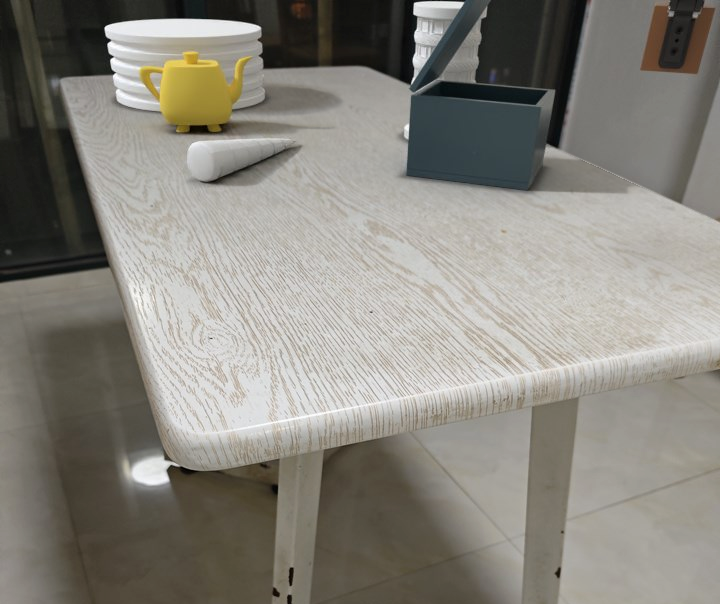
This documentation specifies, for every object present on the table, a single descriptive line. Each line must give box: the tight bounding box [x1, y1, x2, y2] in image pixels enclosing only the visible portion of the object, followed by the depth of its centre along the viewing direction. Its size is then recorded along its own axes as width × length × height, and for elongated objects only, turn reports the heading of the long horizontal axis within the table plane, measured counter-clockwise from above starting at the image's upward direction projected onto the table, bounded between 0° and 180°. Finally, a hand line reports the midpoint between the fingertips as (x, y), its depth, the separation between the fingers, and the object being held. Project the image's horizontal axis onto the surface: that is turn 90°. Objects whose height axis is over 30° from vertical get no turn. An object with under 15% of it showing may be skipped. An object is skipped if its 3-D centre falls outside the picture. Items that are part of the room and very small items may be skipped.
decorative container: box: [403, 0, 488, 140], centre depth 109 cm, size 12×12×18 cm
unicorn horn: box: [186, 137, 297, 183], centre depth 99 cm, size 5×24×5 cm, turn 149°
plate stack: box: [104, 18, 266, 113], centre depth 132 cm, size 28×28×12 cm
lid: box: [408, 0, 492, 94], centre depth 89 cm, size 18×13×6 cm
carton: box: [640, 0, 716, 75], centre depth 65 cm, size 5×5×5 cm
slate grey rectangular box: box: [405, 80, 556, 191], centre depth 97 cm, size 17×13×10 cm
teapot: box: [139, 51, 253, 133], centre depth 114 cm, size 18×11×11 cm, turn 101°
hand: (670, 62), depth 66 cm, fingers closed on carton, 5 cm apart
